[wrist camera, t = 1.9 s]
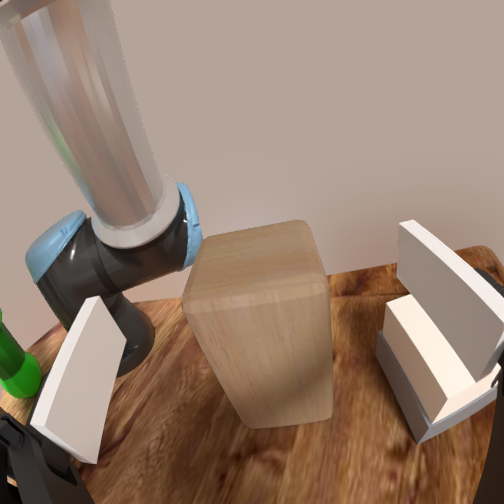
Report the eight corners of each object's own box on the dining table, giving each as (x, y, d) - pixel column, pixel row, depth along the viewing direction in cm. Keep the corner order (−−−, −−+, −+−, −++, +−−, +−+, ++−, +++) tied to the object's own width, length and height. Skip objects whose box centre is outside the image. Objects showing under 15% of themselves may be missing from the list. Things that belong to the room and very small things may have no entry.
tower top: (382, 334, 30) (386, 302, 28) (463, 300, 30) (471, 270, 28) (431, 424, 19) (447, 398, 16) (518, 367, 19) (536, 337, 16)
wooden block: (247, 366, 37) (199, 233, 27) (322, 355, 35) (307, 213, 25) (244, 432, 28) (173, 304, 18) (334, 422, 27) (330, 279, 17)
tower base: (374, 356, 33) (377, 331, 31) (456, 322, 33) (464, 296, 30) (416, 445, 21) (428, 428, 19) (505, 392, 21) (522, 368, 18)
